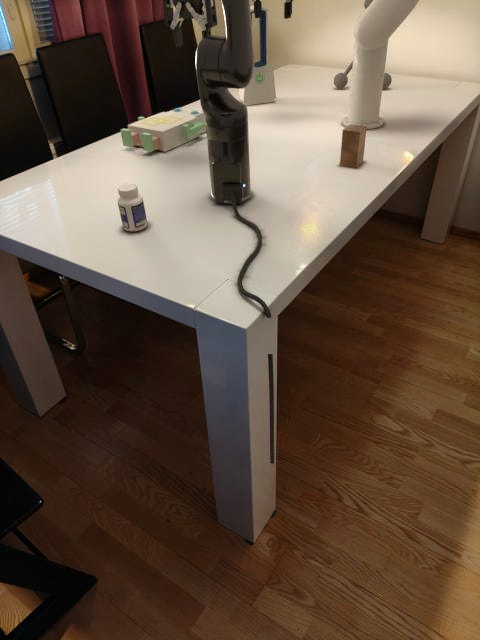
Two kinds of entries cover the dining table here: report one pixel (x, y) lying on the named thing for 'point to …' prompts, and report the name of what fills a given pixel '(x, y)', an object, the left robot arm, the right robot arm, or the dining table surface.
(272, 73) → the electronic device
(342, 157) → the block
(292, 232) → the dining table surface
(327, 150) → the dining table surface
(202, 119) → the decorative block
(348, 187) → the dining table surface
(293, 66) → the dining table surface
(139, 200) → the pill bottle
